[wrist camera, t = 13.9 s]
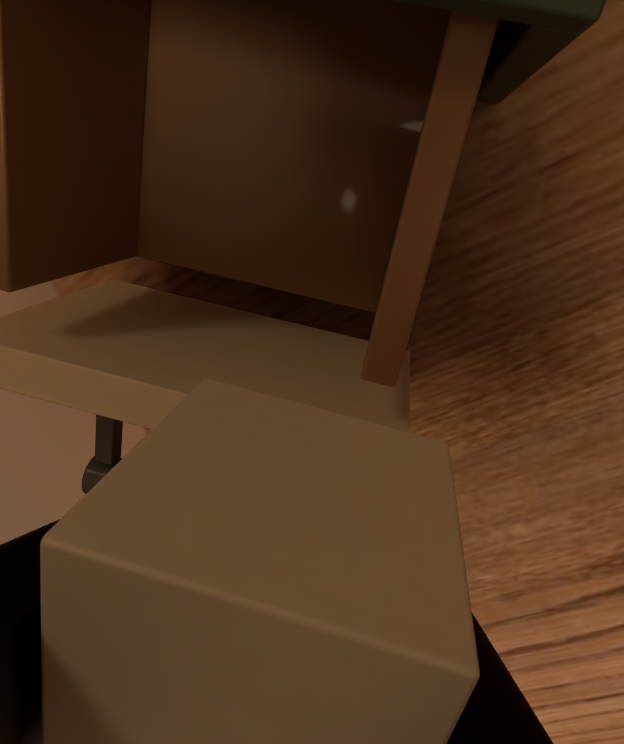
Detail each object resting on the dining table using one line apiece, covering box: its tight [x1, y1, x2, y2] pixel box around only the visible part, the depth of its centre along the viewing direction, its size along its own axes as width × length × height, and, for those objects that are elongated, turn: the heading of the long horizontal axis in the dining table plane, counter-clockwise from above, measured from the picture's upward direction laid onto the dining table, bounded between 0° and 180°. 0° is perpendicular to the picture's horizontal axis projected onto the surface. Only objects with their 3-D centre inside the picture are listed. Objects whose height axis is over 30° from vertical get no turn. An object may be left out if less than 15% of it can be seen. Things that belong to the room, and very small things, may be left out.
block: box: [40, 378, 480, 744], centre depth 7 cm, size 4×4×4 cm
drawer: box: [0, 0, 499, 494], centre depth 14 cm, size 18×11×7 cm, turn 169°
